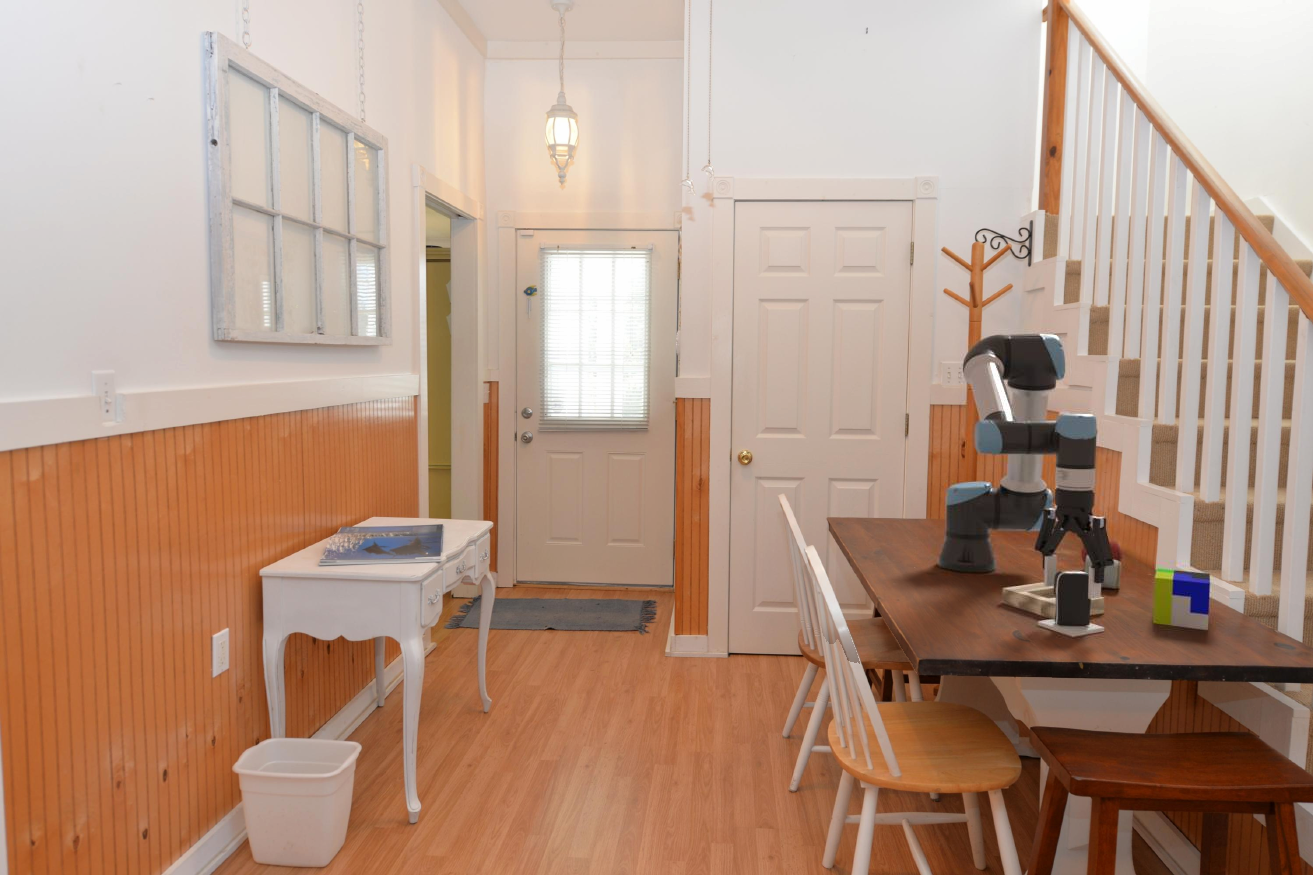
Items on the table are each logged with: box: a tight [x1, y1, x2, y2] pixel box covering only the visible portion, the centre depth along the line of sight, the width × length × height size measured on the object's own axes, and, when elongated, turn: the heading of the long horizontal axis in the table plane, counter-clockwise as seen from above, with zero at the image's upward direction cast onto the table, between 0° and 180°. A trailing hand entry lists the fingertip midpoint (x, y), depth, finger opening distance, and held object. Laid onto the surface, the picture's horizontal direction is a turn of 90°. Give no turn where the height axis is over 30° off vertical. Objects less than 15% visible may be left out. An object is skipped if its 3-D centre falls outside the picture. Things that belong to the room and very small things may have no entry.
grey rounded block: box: [1083, 555, 1122, 589], centre depth 220 cm, size 11×8×8 cm
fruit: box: [1081, 538, 1123, 564], centre depth 234 cm, size 11×10×10 cm
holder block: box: [1002, 581, 1106, 619], centre depth 201 cm, size 16×14×4 cm
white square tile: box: [1037, 618, 1105, 638], centre depth 185 cm, size 9×9×1 cm
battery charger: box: [1054, 570, 1091, 626], centre depth 185 cm, size 7×4×11 cm, turn 88°
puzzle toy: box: [1152, 568, 1211, 631], centre depth 190 cm, size 10×10×10 cm
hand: (1071, 591), depth 185 cm, fingers open, 10 cm apart
